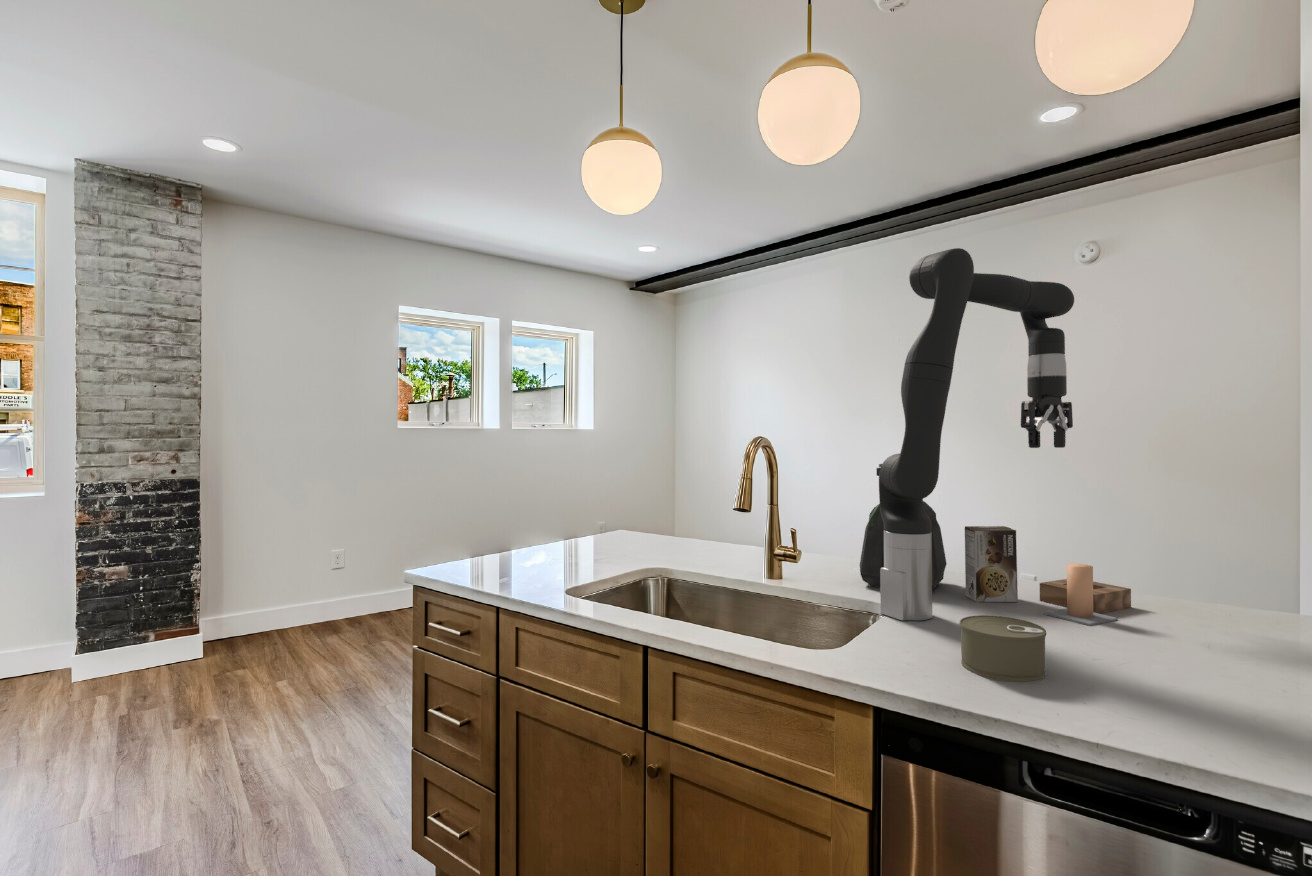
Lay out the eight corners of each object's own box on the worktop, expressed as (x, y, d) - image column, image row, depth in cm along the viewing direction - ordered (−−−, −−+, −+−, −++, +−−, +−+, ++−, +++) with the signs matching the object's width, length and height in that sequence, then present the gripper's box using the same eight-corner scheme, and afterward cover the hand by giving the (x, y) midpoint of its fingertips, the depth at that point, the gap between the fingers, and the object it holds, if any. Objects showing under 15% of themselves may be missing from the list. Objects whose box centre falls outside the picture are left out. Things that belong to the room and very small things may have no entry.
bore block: (1095, 614, 131) (1095, 594, 131) (1039, 600, 142) (1039, 582, 142) (1131, 607, 136) (1130, 588, 136) (1074, 595, 147) (1074, 577, 147)
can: (963, 651, 109) (963, 611, 109) (1045, 664, 103) (1045, 621, 103) (956, 674, 98) (956, 630, 98) (1047, 689, 92) (1047, 642, 92)
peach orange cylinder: (1084, 619, 126) (1083, 568, 126) (1062, 613, 130) (1061, 564, 130) (1098, 616, 127) (1097, 566, 127) (1076, 611, 132) (1075, 562, 132)
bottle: (857, 586, 156) (856, 464, 156) (875, 574, 170) (874, 462, 170) (936, 596, 146) (935, 466, 147) (948, 582, 160) (947, 463, 160)
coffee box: (1005, 595, 147) (1004, 525, 147) (1018, 602, 140) (1017, 529, 140) (964, 595, 147) (963, 525, 148) (975, 602, 141) (974, 529, 141)
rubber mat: (1089, 625, 123) (1089, 623, 123) (1044, 614, 131) (1043, 612, 131) (1117, 620, 126) (1117, 618, 126) (1072, 609, 135) (1072, 607, 135)
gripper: (1041, 372, 137) (1042, 448, 137) (1083, 375, 142) (1084, 447, 142) (1009, 376, 144) (1010, 448, 143) (1051, 378, 149) (1051, 447, 149)
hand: (1047, 447), depth 143 cm, fingers open, 8 cm apart
